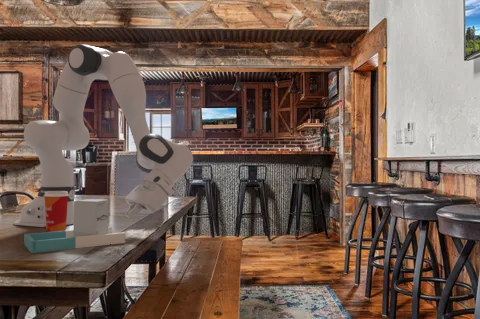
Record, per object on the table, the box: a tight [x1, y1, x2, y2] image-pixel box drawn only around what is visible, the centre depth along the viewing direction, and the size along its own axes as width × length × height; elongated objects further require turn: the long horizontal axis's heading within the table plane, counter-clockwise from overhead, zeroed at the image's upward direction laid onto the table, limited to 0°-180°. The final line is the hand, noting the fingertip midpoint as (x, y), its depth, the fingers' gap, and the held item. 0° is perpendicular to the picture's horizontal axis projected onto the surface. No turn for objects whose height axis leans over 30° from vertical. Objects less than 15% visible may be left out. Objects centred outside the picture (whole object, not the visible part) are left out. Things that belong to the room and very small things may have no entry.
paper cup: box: [44, 191, 69, 232], centre depth 133 cm, size 8×8×14 cm
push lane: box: [23, 226, 126, 254], centre depth 119 cm, size 25×13×3 cm, turn 125°
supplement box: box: [73, 198, 109, 237], centre depth 121 cm, size 7×7×13 cm
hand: (127, 216), depth 128 cm, fingers closed
